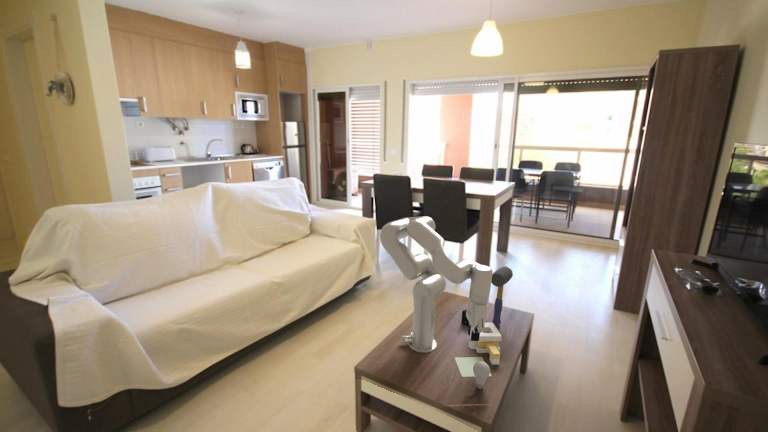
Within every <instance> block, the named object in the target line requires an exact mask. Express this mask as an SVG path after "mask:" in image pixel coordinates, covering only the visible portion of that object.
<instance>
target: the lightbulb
mask: <svg viewBox="0 0 768 432" xmlns="http://www.w3.org/2000/svg"><path fill="white" fill-rule="evenodd" d="M489 366H490V365H488V363H486V362H485V361H484V362H483V361H478V362H476V363H475V364H474V366H473V372H474V375H475V384H476V385H475V387H476V388H477V389H478V390H482V389H484V384H485V382H486V379H487V378H488V377H490V376H489V374H490V373H491V369H490V367H489Z"/></svg>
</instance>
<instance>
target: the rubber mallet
mask: <svg viewBox="0 0 768 432" xmlns="http://www.w3.org/2000/svg"><path fill="white" fill-rule="evenodd" d="M513 275H514V273H513V270H512V269H511V268H510V267H508V266H501V267H500V268H498V269H496V270H495V271H494V272H493V274H492V281H491V285H493V286H494V287H497V292H496V293H497V294H496V298H495V300H494V307H493V308H494V310H493V317H492V321H491V322H493V324H494V325H495V327H499V326H500V325H501V323H502V321H501V317H502V316H501V315H502V310H503V293H504V286H505V285H506V284H507V283H508V282H509V281H510V280H511V279H512V278H513Z"/></svg>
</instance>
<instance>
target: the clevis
mask: <svg viewBox="0 0 768 432" xmlns="http://www.w3.org/2000/svg"><path fill="white" fill-rule="evenodd" d="M502 339H503V336H502V334H501V333H500V331H499V330H498V328H497V326H495V325H494V324H493V322H492V321H491V322H485V326H484V327H483V328H482V333H480V337H479V341H477V343H476V348H475V349H474V350H475V351H476V353H477V354H489V361H490V364H491V365H493V366H495V365H500V359H501V347H500V343H501V342H502V341H503V340H502Z"/></svg>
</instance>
